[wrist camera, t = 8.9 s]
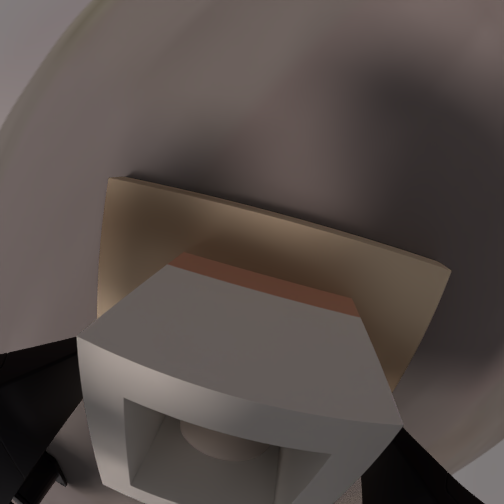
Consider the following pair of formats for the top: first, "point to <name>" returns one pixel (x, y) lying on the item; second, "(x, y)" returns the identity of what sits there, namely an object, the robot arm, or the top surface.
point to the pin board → (266, 271)
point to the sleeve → (233, 388)
